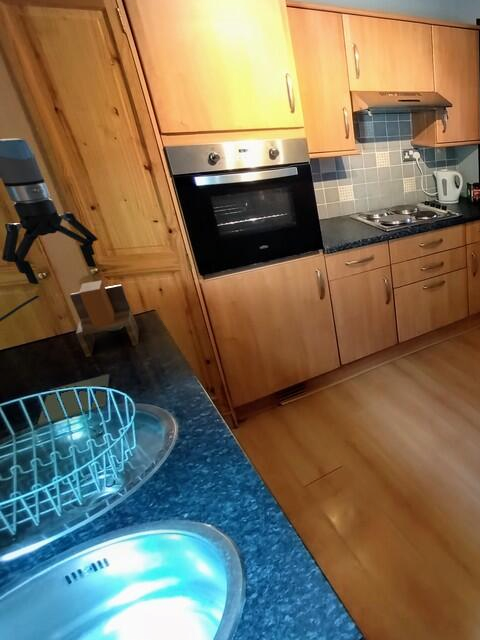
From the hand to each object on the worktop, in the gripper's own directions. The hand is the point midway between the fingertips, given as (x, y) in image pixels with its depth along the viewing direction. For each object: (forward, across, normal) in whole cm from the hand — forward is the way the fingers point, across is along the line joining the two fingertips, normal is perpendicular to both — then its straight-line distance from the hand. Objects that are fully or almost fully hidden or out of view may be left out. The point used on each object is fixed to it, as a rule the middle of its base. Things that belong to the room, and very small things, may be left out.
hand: (64, 274), depth 128 cm
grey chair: (+23, +3, -3) cm, 24 cm away
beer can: (+24, +9, +6) cm, 26 cm away
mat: (+24, -18, -25) cm, 39 cm away
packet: (+15, +3, -3) cm, 16 cm away
